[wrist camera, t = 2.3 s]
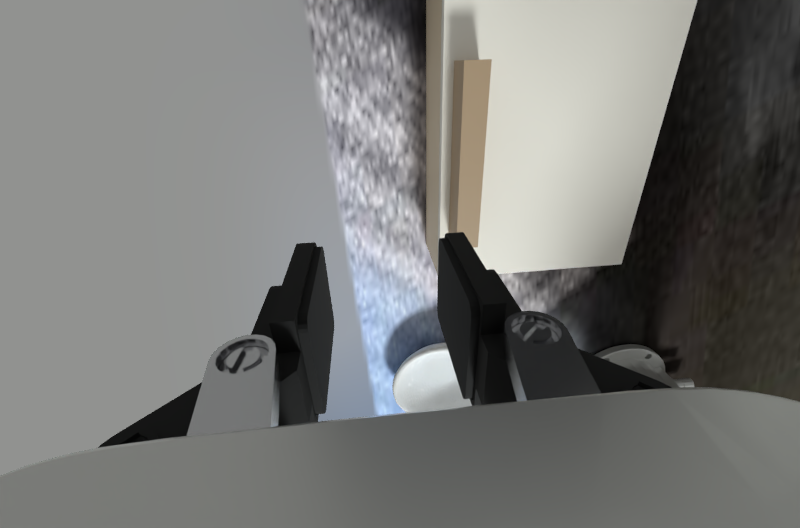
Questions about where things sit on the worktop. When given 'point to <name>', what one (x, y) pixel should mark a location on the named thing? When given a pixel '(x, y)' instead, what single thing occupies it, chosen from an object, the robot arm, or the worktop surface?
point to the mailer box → (433, 122)
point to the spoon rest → (428, 381)
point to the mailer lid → (552, 124)
